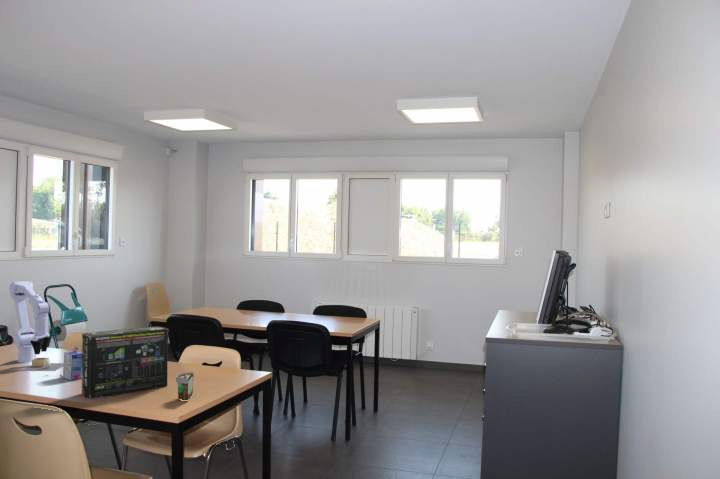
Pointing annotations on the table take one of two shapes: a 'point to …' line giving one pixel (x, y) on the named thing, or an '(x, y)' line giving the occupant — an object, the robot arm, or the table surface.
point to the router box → (124, 361)
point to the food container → (185, 385)
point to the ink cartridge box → (72, 365)
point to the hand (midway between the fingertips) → (40, 352)
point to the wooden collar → (39, 362)
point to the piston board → (56, 365)
